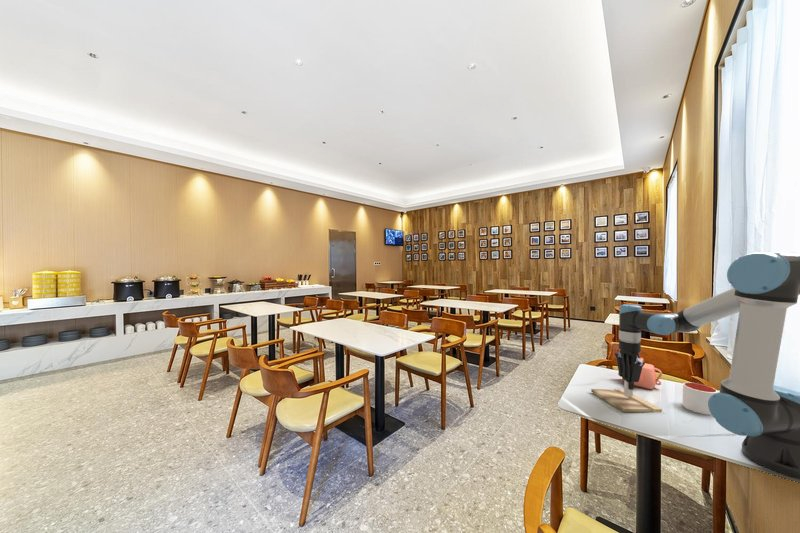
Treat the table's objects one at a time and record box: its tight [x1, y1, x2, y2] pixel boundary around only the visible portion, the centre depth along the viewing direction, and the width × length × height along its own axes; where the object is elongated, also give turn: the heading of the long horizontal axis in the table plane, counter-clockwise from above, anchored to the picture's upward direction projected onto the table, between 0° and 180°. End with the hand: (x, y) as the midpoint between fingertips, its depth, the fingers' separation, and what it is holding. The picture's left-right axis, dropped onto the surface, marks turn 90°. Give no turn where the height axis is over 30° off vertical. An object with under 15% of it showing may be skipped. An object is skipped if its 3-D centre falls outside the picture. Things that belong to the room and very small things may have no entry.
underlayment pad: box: [585, 389, 666, 416], centre depth 130 cm, size 20×19×2 cm
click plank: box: [590, 388, 652, 412], centre depth 130 cm, size 18×12×1 cm, turn 5°
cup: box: [681, 381, 718, 416], centre depth 125 cm, size 10×10×10 cm
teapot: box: [617, 357, 663, 390], centre depth 149 cm, size 15×17×13 cm
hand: (628, 395), depth 130 cm, fingers closed
